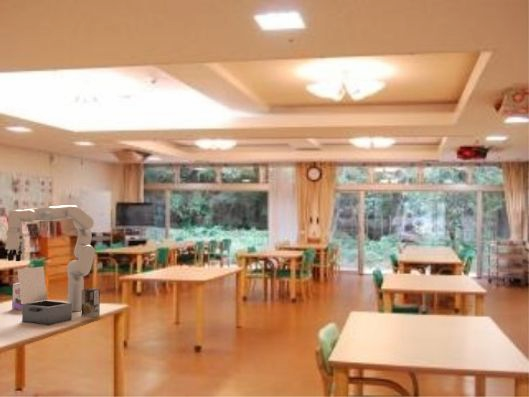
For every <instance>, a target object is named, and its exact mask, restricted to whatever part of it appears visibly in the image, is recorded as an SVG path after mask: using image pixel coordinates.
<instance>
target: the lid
mask: <svg viewBox="0 0 529 397" xmlns="http://www.w3.org/2000/svg"><path fill="white" fill-rule="evenodd" d="M17 276H18V277H17V278H18V283H19V288H20V298H21V304H27V303H32V302H40V301H45V300H48V295H47V294H48V293H47V286H46V276H45V267H44V266H37V267H27V268H18V269H17Z"/></svg>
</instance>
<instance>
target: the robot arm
mask: <svg viewBox="0 0 529 397" xmlns="http://www.w3.org/2000/svg"><path fill="white" fill-rule="evenodd" d="M7 219H8V221H7V223H8V224H7V225H8V226H7V236H6V240H5V241H6V244H5V247H4V249H5V251H6V252H7V261H8V262H9V261H10V262H11V261H14V253H13V252H14V250H15V253H16V254H15V262H21V260H22V257H21V256H22V254H23V252H24V251H25V249H26V248H25V241H24V240H25V239H24V232H23V223H31V222H32V223H33V222H34V221H58V220H59V221H60V220H69V219H72V221H73V225H74V228H75V229H76V230H77V239H76V244H75V247H74V250H73V255H74V257H75V258H78V259H74V260H71V261H70V262H69V263H68V264H67V267H66V271H67V272H66V273H67V278H68V279H67V282H68V283H67V303H72V312H82V290H84V289H85V287H84V286H85V284H84V283H85V281H84V277H86V276H87V275H88V274H90V271H91V270H92V267H93V263H94V260H95V255H96V251H95V247H93V246H92V245H91V243H92V235H93V234H92V228H93V227H94V226H95V225H94V224H95V223H94V219H93V218H92V217H91V216H90V215H89V214H87V213H86V212H85V211H84V210H83V209H82V208H80V207H79V206H78V205H72V204H70V205H69V204H68V205H67V204H66V205H56V206H46V207H45V206H44V207H39V208H38V207H37V208H35V207H34V208H25V209H10V210H9V211H8V218H7Z"/></svg>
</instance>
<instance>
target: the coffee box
mask: <svg viewBox="0 0 529 397" xmlns="http://www.w3.org/2000/svg"><path fill="white" fill-rule="evenodd" d="M100 295H101V289H100V288H99V289H98V288H84V290H82V311H81V317H88V318H89V317H90V318H96V317H100V314H101V313H100V309H101V308H100V302H101V296H100Z"/></svg>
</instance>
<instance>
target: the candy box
mask: <svg viewBox="0 0 529 397" xmlns="http://www.w3.org/2000/svg"><path fill="white" fill-rule="evenodd" d="M32 303H34V302H32ZM27 304H28V303H27ZM22 305H23V304H21V298H20V288H19V282H15V283H12V304H11V306H12V307H11V309H12V310H17V311H18V310H19V311H22Z"/></svg>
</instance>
